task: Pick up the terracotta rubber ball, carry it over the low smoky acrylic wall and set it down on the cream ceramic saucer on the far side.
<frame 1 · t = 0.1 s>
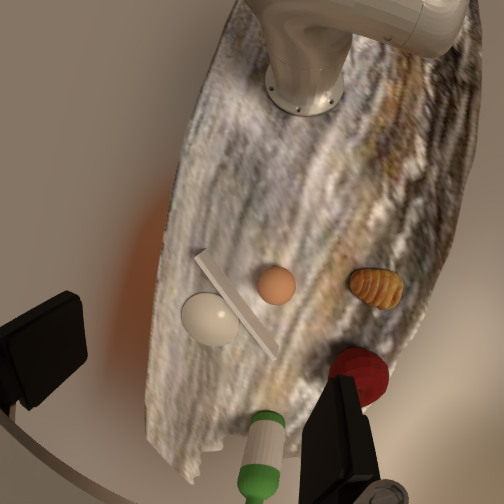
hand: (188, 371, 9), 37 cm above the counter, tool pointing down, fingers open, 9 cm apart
wall: (242, 301, 48), on the counter
apple: (352, 357, 48), on the counter
pastry: (376, 286, 44), on the counter
saucer: (210, 319, 50), on the counter
wine bottle: (268, 419, 54), on the counter
ball: (276, 285, 43), point 3 cm above the counter
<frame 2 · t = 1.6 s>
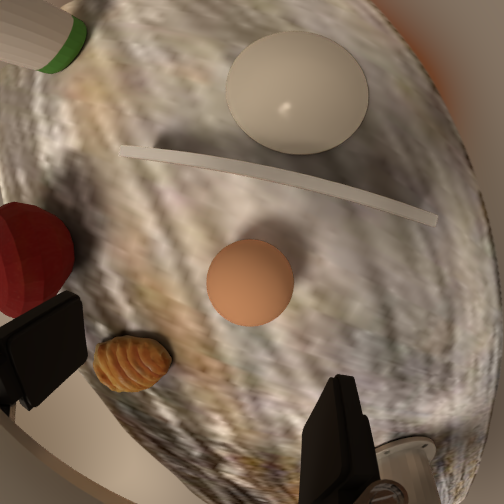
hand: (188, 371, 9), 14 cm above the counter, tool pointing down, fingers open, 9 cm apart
wall: (277, 177, 20), on the counter
apple: (63, 245, 25), on the counter
pastry: (134, 355, 27), on the counter
saucer: (297, 88, 18), on the counter
wine bottle: (68, 49, 20), on the counter
ball: (250, 282, 19), point 3 cm above the counter
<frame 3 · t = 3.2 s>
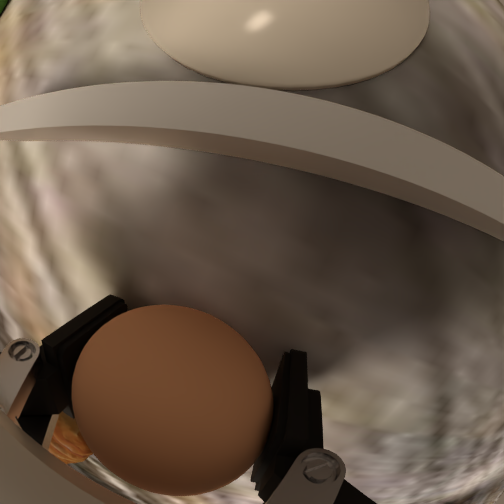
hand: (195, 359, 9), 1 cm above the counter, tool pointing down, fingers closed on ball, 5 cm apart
wall: (239, 144, 8), on the counter
pastry: (60, 418, 15), on the counter
ball: (171, 402, 7), point 3 cm above the counter, touching gripper
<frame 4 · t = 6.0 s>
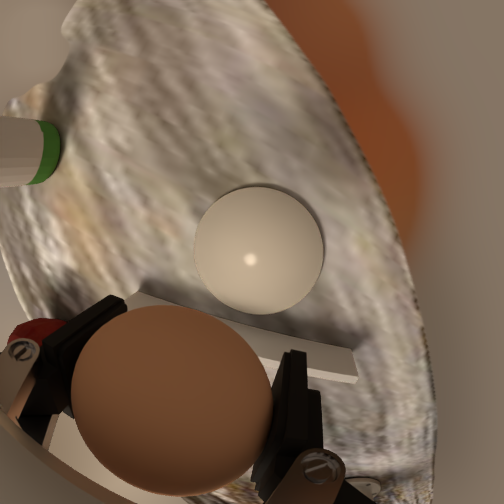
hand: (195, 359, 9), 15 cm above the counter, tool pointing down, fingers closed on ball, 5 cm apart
wall: (239, 326, 25), on the counter
apple: (75, 338, 30), on the counter
saucer: (257, 252, 24), on the counter
wine bottle: (46, 152, 25), on the counter
ball: (170, 403, 7), point 17 cm above the counter, touching gripper
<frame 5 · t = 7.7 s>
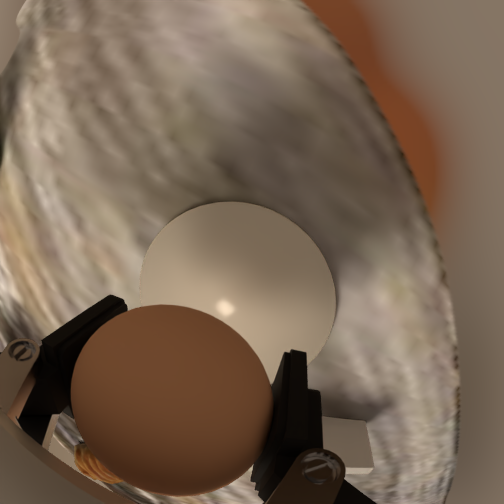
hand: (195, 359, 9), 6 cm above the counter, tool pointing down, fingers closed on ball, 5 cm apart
wall: (213, 396, 17), on the counter
pastry: (106, 455, 24), on the counter
saucer: (232, 303, 15), on the counter
ball: (170, 402, 7), point 8 cm above the counter, touching gripper
when the fingers open (2 cm above the counter, at t = 8.9 s): ball drops 1 cm, resting on saucer.
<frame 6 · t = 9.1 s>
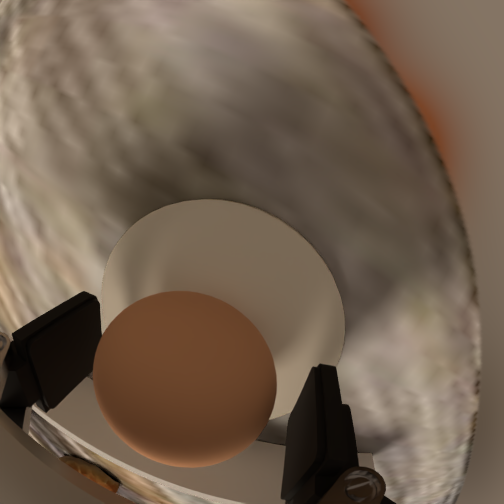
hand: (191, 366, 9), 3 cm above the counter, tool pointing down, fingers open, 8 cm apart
wall: (196, 428, 13), on the counter
pastry: (91, 469, 20), on the counter
saucer: (212, 329, 12), on the counter
ball: (183, 380, 8), point 4 cm above the counter, touching saucer
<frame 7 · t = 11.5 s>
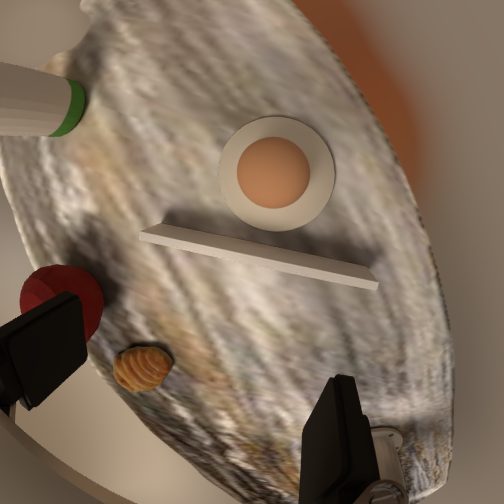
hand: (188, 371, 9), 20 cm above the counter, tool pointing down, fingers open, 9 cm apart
wall: (261, 247, 27), on the counter
apple: (90, 289, 32), on the counter
pastry: (144, 361, 35), on the counter
saucer: (276, 173, 25), on the counter
wine bottle: (69, 109, 26), on the counter
ball: (273, 172, 22), point 4 cm above the counter, touching saucer
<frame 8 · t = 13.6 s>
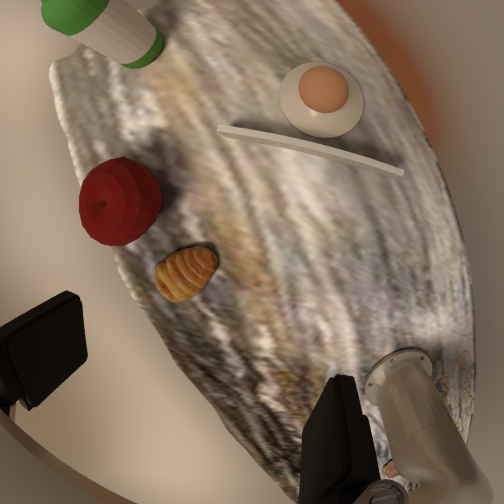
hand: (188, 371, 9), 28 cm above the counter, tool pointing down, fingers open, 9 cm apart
wall: (311, 151, 32), on the counter
apple: (145, 198, 37), on the counter
pastry: (186, 270, 39), on the counter
saucer: (321, 98, 31), on the counter
wine bottle: (144, 50, 32), on the counter
ball: (323, 89, 27), point 4 cm above the counter, touching saucer
shell: (405, 459, 44), on the counter
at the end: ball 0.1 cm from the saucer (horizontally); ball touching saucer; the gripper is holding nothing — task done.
